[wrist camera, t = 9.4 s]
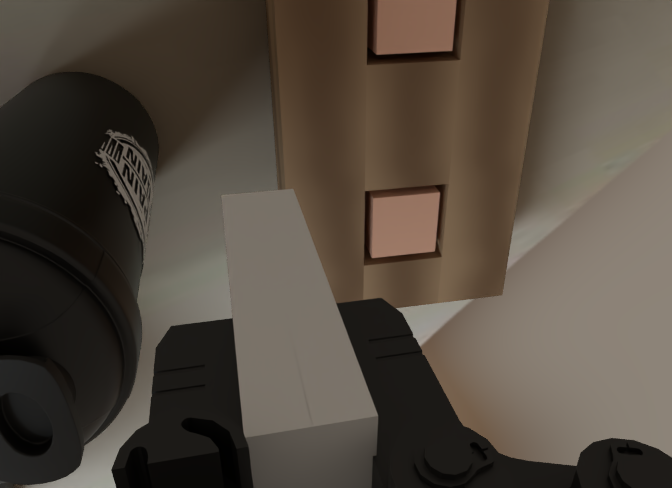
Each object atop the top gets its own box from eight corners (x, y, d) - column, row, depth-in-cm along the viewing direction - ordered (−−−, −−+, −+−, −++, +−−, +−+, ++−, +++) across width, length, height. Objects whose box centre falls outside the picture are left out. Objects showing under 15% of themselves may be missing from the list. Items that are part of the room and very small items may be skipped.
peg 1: (352, 34, 34) (376, 54, 29) (353, -42, 32) (378, -34, 27) (418, 31, 35) (452, 50, 30) (422, -43, 33) (459, -36, 28)
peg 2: (352, 215, 40) (372, 258, 35) (352, 161, 38) (373, 198, 33) (407, 210, 41) (435, 251, 36) (411, 156, 39) (440, 192, 34)
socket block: (283, 270, 41) (293, 320, 36) (256, -126, 29) (265, -135, 24) (468, 250, 43) (502, 295, 38) (513, -127, 31) (571, -135, 26)
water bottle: (185, 210, 38) (153, 531, 18) (19, 227, 36) (-212, 596, 17) (157, 50, 33) (72, 255, 13) (-37, 62, 31) (-464, 313, 12)
